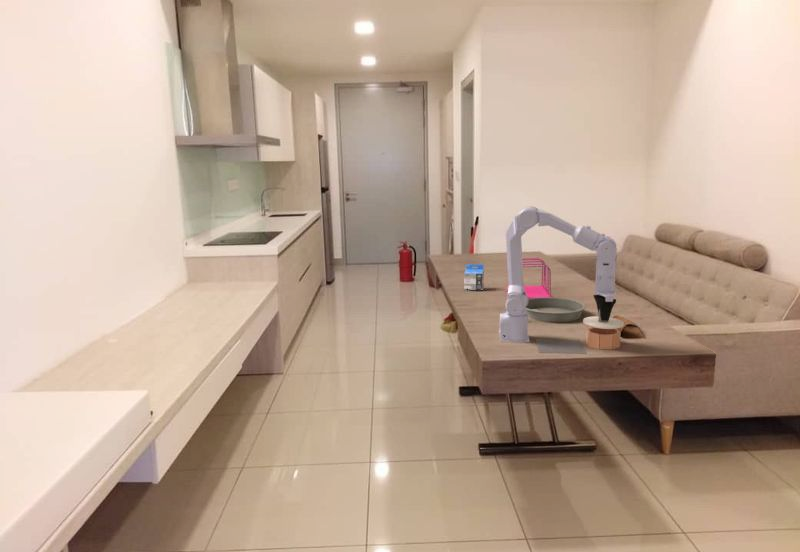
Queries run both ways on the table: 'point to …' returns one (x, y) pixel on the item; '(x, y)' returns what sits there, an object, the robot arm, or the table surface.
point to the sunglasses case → (629, 329)
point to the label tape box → (474, 277)
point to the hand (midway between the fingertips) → (603, 318)
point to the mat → (560, 346)
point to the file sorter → (541, 290)
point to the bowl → (603, 338)
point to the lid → (603, 322)
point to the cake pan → (554, 309)
